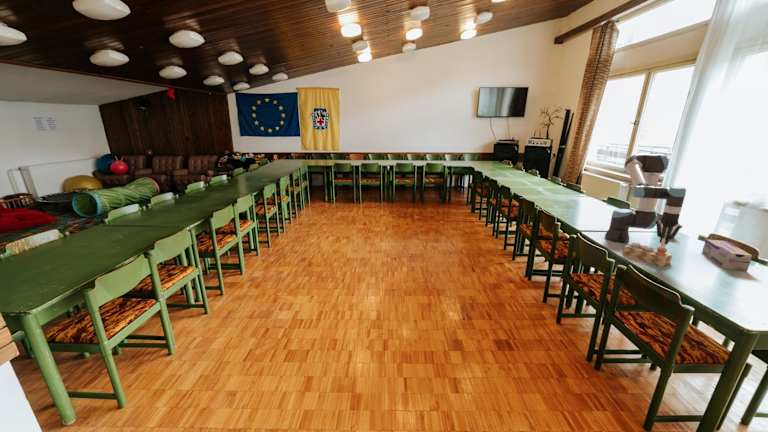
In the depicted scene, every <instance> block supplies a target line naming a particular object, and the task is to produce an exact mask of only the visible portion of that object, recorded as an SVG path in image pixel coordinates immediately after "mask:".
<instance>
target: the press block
mask: <svg viewBox="0 0 768 432" xmlns="http://www.w3.org/2000/svg"><path fill="white" fill-rule="evenodd" d="M644 246H645V245H640V247H639V248H638V249H637V248H634V247H632V243H630V244H627V245H624V249H623V252H622V255H624V256H628V257H631V258H633V257H634V259H636V258H637V260H640V261H644V262H646V261H647V262H646V263H650V264H652V263H653V264H652V265H655V264H656V266H658V265H659V267H661V266H662V267H664V266H667V265H669V264H671V262H672V258H673V254H671V253H668V252H665V256H661V255H658V254H657V249H654V248H653V251H651V252H648V251H644ZM662 267H661V268H662Z"/></svg>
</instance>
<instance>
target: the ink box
mask: <svg viewBox="0 0 768 432" xmlns="http://www.w3.org/2000/svg"><path fill="white" fill-rule="evenodd" d="M676 226H677V225H676ZM676 226H674V227H673V229H672V232H671V235H672V233H673V232H674V230H675V229H676ZM662 229H663V224H662V223H661V233H662ZM667 231H668V227H667V230H666V234H665V237H664V238H666V235H667Z"/></svg>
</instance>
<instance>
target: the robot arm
mask: <svg viewBox="0 0 768 432" xmlns="http://www.w3.org/2000/svg"><path fill="white" fill-rule="evenodd" d="M668 167H669V158H668V157H667V155H666V154H662V153H635V154H633V155H631V156H630V157H628V158H627V160H626V161H625V163H624V168H625V171H626V172H627V173H628V174H629V177H630V180H631V182H632V185H633V187H632V189H631V196H632V197H633V198H639V202H638V206H637V208H635V209H634V211H633V210H632V209H630V208H629V209H627V208H617V209H614V210H613V211H612V213H611V220H610V223H609V228H608V230H607V231H606V233H605V235H604V238H605V239H606V240H608V241H611V242H615V243H628V242H629V241H630V233H629V229H630V228H633V229H643V230H652V229H654V228H655V227H656V236H657V237H658V238H660V239H659V243H660V245H659V247H660V248H661V249H664V248H666V246H667V245H668V244H669V243H670V240H673V239H675V237H676V236H677V234H678V232H679V231H680V229H682V228H683V225H681V224H679V219H680V215H681V212H682V209H683V204H684V200H685V197H686V195H687V194H686V193H687V189H686V188H685V187H682V186H667V185H666V186H658V185H659V179H660V176H661V175H663V174H664V172H665V171H667V170H668ZM656 200H665V205H664V209H663V212H662V216H661V218H660V219H659V215H658V214H657V213H656V210H655V209H654V206H655V202H656ZM661 224H663V229H662V233H661ZM676 225H677V226H676ZM674 226H676V229H675V230H674V232H673V233H672V235H671V232H672V229H673V227H674ZM667 227H668V231H667V235H666V237H665V234H666V230H667Z"/></svg>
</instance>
